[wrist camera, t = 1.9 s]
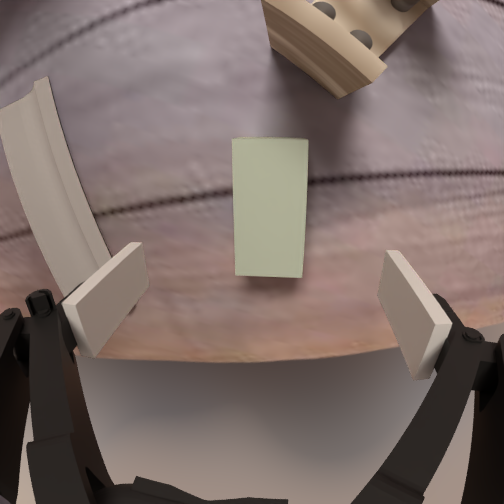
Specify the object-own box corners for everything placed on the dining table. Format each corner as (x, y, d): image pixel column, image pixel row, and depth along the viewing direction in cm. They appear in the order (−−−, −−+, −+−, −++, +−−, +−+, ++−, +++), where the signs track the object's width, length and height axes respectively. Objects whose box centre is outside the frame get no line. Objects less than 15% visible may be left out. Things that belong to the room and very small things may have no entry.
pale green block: (240, 137, 28) (231, 139, 23) (304, 138, 27) (308, 139, 22) (242, 253, 32) (235, 275, 28) (299, 255, 32) (302, 277, 27)
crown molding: (137, 300, 37) (125, 316, 34) (78, 313, 40) (66, 327, 36) (51, 77, 26) (32, 76, 23) (1, 123, 29) (-17, 126, 25)
